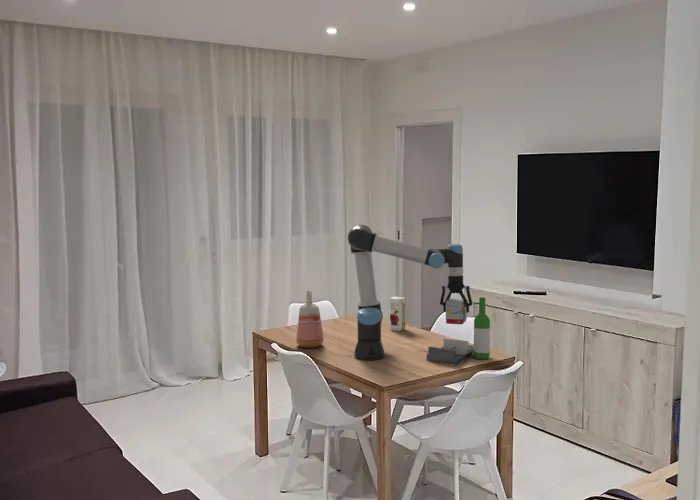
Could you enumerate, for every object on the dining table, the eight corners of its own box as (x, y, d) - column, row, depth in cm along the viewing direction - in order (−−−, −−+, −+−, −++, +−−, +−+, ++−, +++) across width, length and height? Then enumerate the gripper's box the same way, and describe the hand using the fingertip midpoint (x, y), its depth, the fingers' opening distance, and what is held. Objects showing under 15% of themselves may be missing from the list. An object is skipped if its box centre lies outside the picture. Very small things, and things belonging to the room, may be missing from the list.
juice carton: (394, 327, 390) (394, 295, 388) (407, 329, 385) (407, 297, 383) (387, 330, 384) (387, 297, 382) (400, 332, 379) (400, 299, 377)
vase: (290, 346, 351) (289, 291, 347) (310, 341, 361) (309, 287, 358) (309, 351, 341) (308, 294, 337) (329, 345, 351) (328, 290, 348)
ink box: (462, 324, 333) (461, 301, 331) (445, 323, 336) (445, 300, 335) (466, 321, 340) (466, 298, 339) (450, 320, 344) (450, 297, 343)
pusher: (468, 355, 327) (468, 341, 327) (463, 357, 323) (463, 343, 322) (444, 351, 335) (444, 337, 334) (439, 353, 330) (439, 340, 329)
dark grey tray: (475, 355, 331) (475, 341, 330) (456, 365, 314) (456, 351, 313) (446, 350, 340) (446, 337, 339) (426, 360, 323) (426, 346, 322)
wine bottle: (472, 355, 330) (473, 296, 326) (488, 355, 330) (489, 296, 326) (474, 360, 322) (475, 299, 318) (490, 360, 322) (491, 299, 318)
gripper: (433, 275, 335) (433, 319, 338) (476, 276, 329) (476, 320, 331) (435, 273, 342) (436, 316, 345) (478, 274, 336) (478, 317, 338)
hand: (456, 318), depth 338 cm, fingers closed on ink box, 9 cm apart
